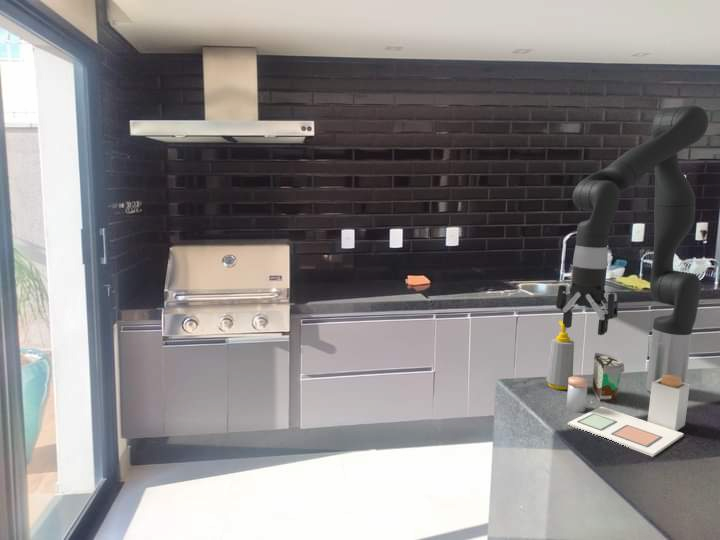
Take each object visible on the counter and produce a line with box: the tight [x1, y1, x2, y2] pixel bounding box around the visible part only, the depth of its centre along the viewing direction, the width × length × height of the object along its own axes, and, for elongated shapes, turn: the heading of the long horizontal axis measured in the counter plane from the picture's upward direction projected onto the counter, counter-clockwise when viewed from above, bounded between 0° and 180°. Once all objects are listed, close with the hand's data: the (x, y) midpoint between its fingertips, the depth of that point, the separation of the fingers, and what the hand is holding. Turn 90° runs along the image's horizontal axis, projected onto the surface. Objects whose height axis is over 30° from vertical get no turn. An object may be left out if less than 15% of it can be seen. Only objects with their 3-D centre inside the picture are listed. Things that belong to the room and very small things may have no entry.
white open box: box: [647, 378, 691, 431], centre depth 130 cm, size 6×6×10 cm
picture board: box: [567, 406, 684, 458], centre depth 127 cm, size 16×19×1 cm
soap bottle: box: [545, 320, 575, 391], centre depth 153 cm, size 7×7×18 cm
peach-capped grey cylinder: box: [565, 375, 589, 413], centre depth 139 cm, size 5×5×8 cm
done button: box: [661, 374, 681, 389], centre depth 130 cm, size 4×4×2 cm
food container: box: [592, 352, 625, 403], centre depth 147 cm, size 12×6×10 cm, turn 168°
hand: (584, 330), depth 136 cm, fingers open, 8 cm apart
